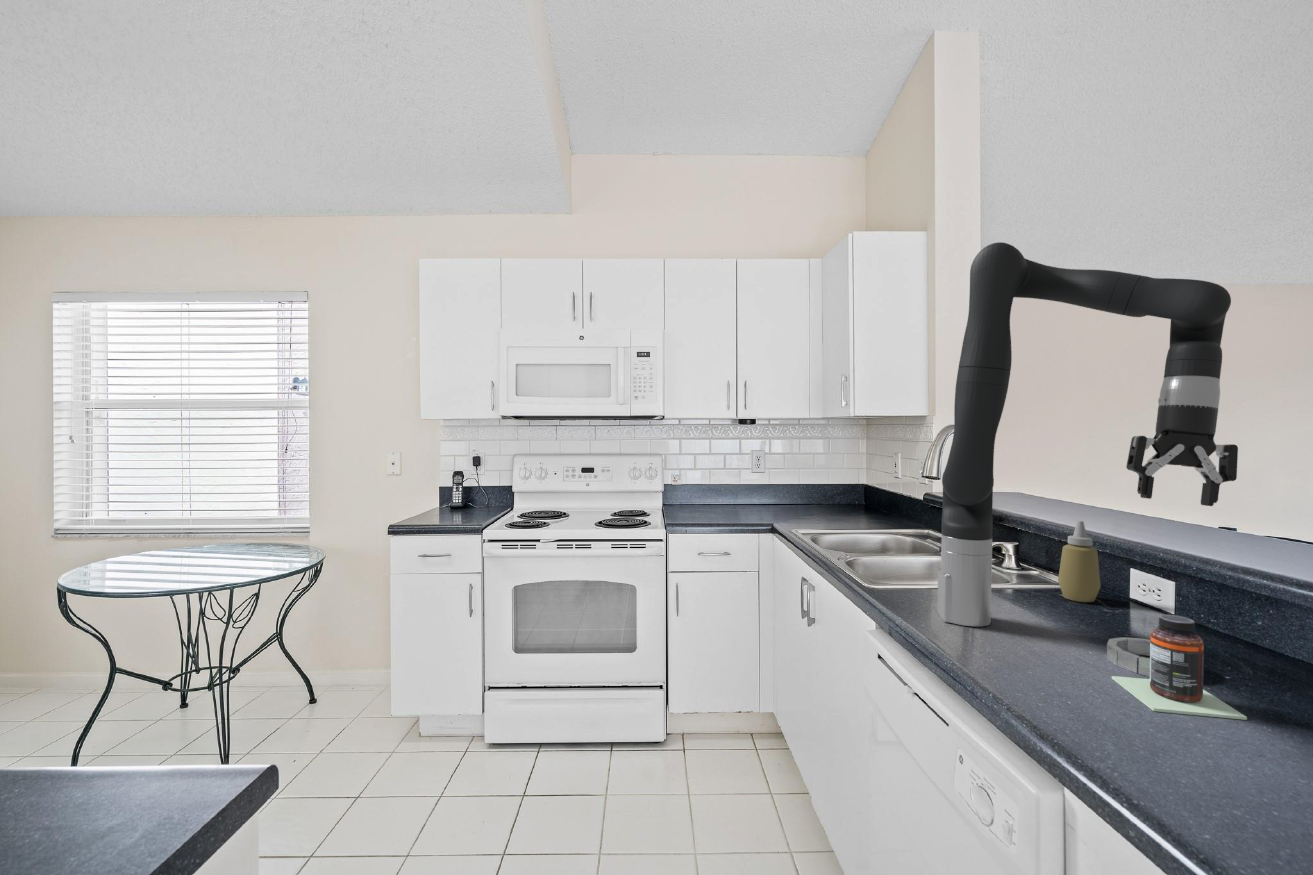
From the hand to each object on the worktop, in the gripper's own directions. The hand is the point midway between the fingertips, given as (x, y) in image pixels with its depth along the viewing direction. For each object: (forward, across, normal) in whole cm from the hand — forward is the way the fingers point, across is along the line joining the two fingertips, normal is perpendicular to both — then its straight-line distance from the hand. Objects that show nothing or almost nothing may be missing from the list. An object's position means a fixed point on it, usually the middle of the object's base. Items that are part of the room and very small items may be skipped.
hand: (1176, 501), depth 100 cm
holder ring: (+28, -1, -1) cm, 28 cm away
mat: (+28, -4, -14) cm, 32 cm away
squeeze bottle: (+26, +2, +40) cm, 47 cm away
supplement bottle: (+28, -4, -14) cm, 32 cm away
